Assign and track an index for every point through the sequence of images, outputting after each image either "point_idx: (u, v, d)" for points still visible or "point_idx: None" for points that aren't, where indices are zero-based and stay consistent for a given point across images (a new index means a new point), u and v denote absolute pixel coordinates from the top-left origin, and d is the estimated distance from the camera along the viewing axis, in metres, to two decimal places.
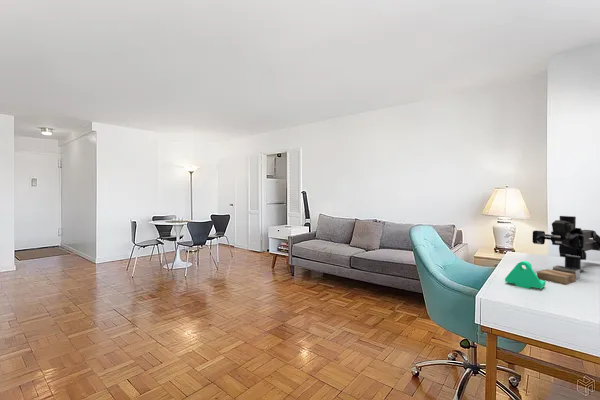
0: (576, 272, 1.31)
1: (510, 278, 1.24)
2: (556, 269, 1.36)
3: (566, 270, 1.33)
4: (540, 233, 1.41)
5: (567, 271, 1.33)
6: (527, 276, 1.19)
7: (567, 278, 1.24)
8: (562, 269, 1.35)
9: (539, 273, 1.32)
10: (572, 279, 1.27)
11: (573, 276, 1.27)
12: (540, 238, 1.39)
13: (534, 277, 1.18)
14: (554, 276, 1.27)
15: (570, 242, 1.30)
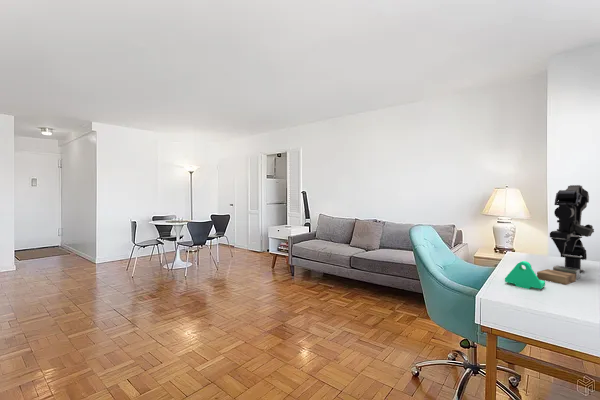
0: (577, 271, 1.31)
1: (510, 278, 1.24)
2: (556, 269, 1.36)
3: (567, 270, 1.33)
4: (567, 241, 1.30)
5: (568, 271, 1.33)
6: (527, 277, 1.19)
7: (567, 278, 1.24)
8: (562, 269, 1.34)
9: (539, 273, 1.32)
10: (572, 279, 1.27)
11: (573, 276, 1.27)
12: None
13: (534, 277, 1.17)
14: (554, 276, 1.27)
15: None
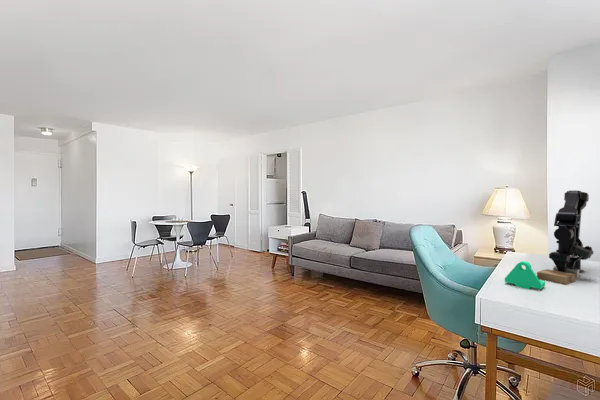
0: (577, 271, 1.31)
1: (509, 278, 1.23)
2: (557, 269, 1.36)
3: (567, 270, 1.33)
4: (567, 262, 1.31)
5: (568, 271, 1.33)
6: (527, 277, 1.19)
7: (567, 278, 1.24)
8: None
9: (539, 273, 1.32)
10: (572, 279, 1.27)
11: (573, 276, 1.27)
12: None
13: (534, 277, 1.17)
14: (554, 276, 1.27)
15: None
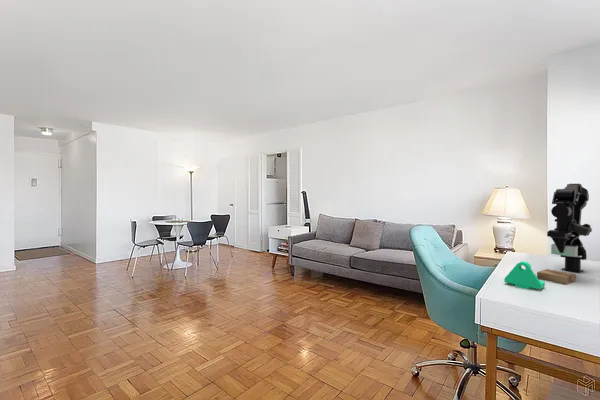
0: (575, 248, 1.30)
1: (509, 278, 1.23)
2: (555, 247, 1.34)
3: (565, 247, 1.32)
4: (567, 240, 1.30)
5: (566, 248, 1.31)
6: (527, 277, 1.19)
7: (567, 278, 1.24)
8: None
9: (539, 273, 1.32)
10: (572, 279, 1.27)
11: (573, 276, 1.27)
12: None
13: (533, 277, 1.17)
14: (554, 276, 1.27)
15: None
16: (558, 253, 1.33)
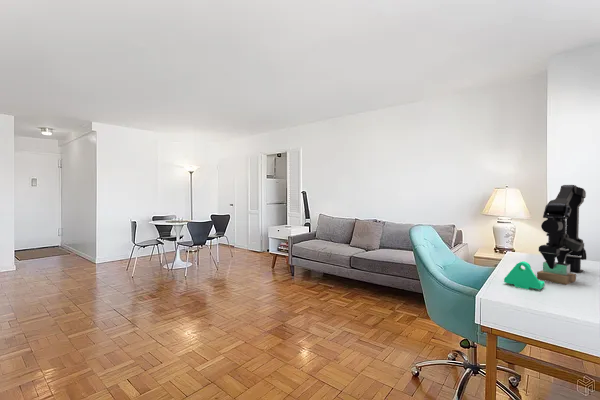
0: (567, 267, 1.26)
1: (509, 279, 1.23)
2: (546, 265, 1.31)
3: (557, 265, 1.28)
4: (557, 255, 1.25)
5: (558, 266, 1.28)
6: (527, 277, 1.18)
7: (567, 278, 1.24)
8: None
9: (539, 273, 1.32)
10: (572, 279, 1.27)
11: (573, 276, 1.27)
12: None
13: (533, 278, 1.17)
14: (554, 276, 1.27)
15: None
16: (550, 271, 1.30)
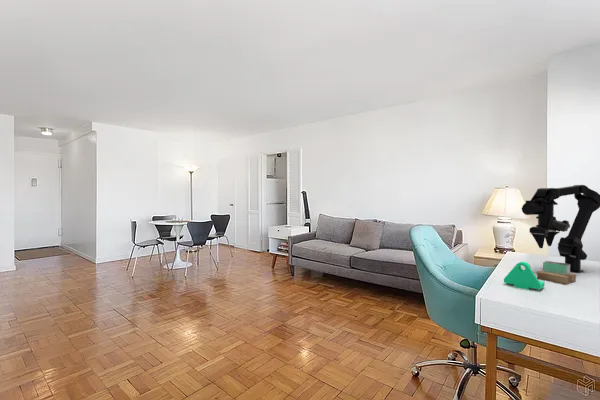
0: (567, 267, 1.26)
1: (509, 279, 1.23)
2: (546, 265, 1.31)
3: (557, 265, 1.28)
4: (545, 236, 1.38)
5: (558, 266, 1.28)
6: (526, 277, 1.18)
7: (567, 278, 1.24)
8: (553, 264, 1.29)
9: (539, 273, 1.32)
10: (572, 279, 1.27)
11: (573, 276, 1.27)
12: None
13: (533, 278, 1.17)
14: (554, 276, 1.27)
15: None
16: (550, 271, 1.30)
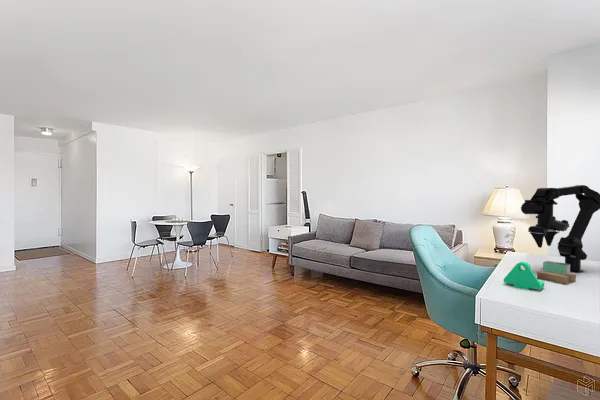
0: (567, 267, 1.26)
1: (508, 279, 1.23)
2: (546, 265, 1.31)
3: (557, 265, 1.28)
4: (544, 235, 1.39)
5: (558, 266, 1.28)
6: (526, 277, 1.18)
7: (567, 278, 1.24)
8: (553, 264, 1.29)
9: (539, 273, 1.32)
10: (572, 279, 1.27)
11: (573, 276, 1.27)
12: None
13: (533, 278, 1.17)
14: (554, 276, 1.27)
15: None
16: (550, 271, 1.30)
